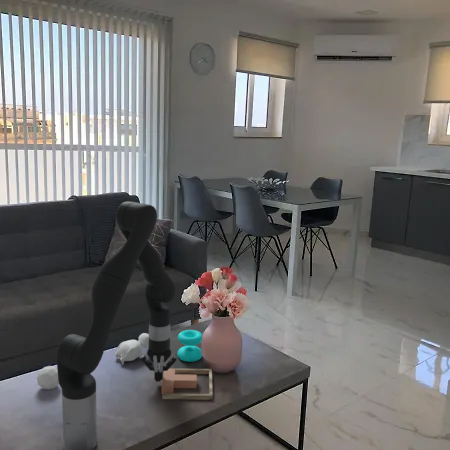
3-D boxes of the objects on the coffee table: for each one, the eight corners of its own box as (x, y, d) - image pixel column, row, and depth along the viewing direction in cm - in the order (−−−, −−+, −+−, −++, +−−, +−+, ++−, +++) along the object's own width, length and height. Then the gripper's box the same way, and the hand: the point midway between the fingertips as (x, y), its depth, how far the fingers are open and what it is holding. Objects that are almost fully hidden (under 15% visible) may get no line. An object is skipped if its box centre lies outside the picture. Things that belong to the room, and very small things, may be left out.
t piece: (196, 394, 168) (196, 386, 168) (161, 394, 168) (161, 386, 167) (196, 376, 180) (196, 369, 179) (164, 376, 179) (164, 368, 179)
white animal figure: (127, 372, 187) (159, 349, 194) (120, 355, 183) (152, 333, 190) (117, 363, 193) (148, 341, 201) (110, 347, 190) (142, 325, 197)
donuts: (201, 328, 198) (205, 338, 189) (200, 350, 200) (204, 362, 191) (176, 329, 196) (179, 340, 187) (176, 352, 198) (178, 364, 189)
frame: (212, 399, 166) (212, 395, 165) (162, 398, 165) (162, 395, 165) (211, 372, 183) (211, 369, 183) (166, 371, 182) (166, 368, 182)
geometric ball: (43, 394, 169) (33, 373, 170) (65, 382, 172) (55, 361, 173) (42, 394, 162) (31, 373, 163) (64, 382, 165) (54, 361, 166)
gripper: (139, 339, 166) (138, 385, 169) (178, 340, 166) (176, 386, 170) (141, 330, 173) (141, 374, 177) (179, 331, 174) (177, 375, 177)
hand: (158, 380), depth 173 cm, fingers closed
